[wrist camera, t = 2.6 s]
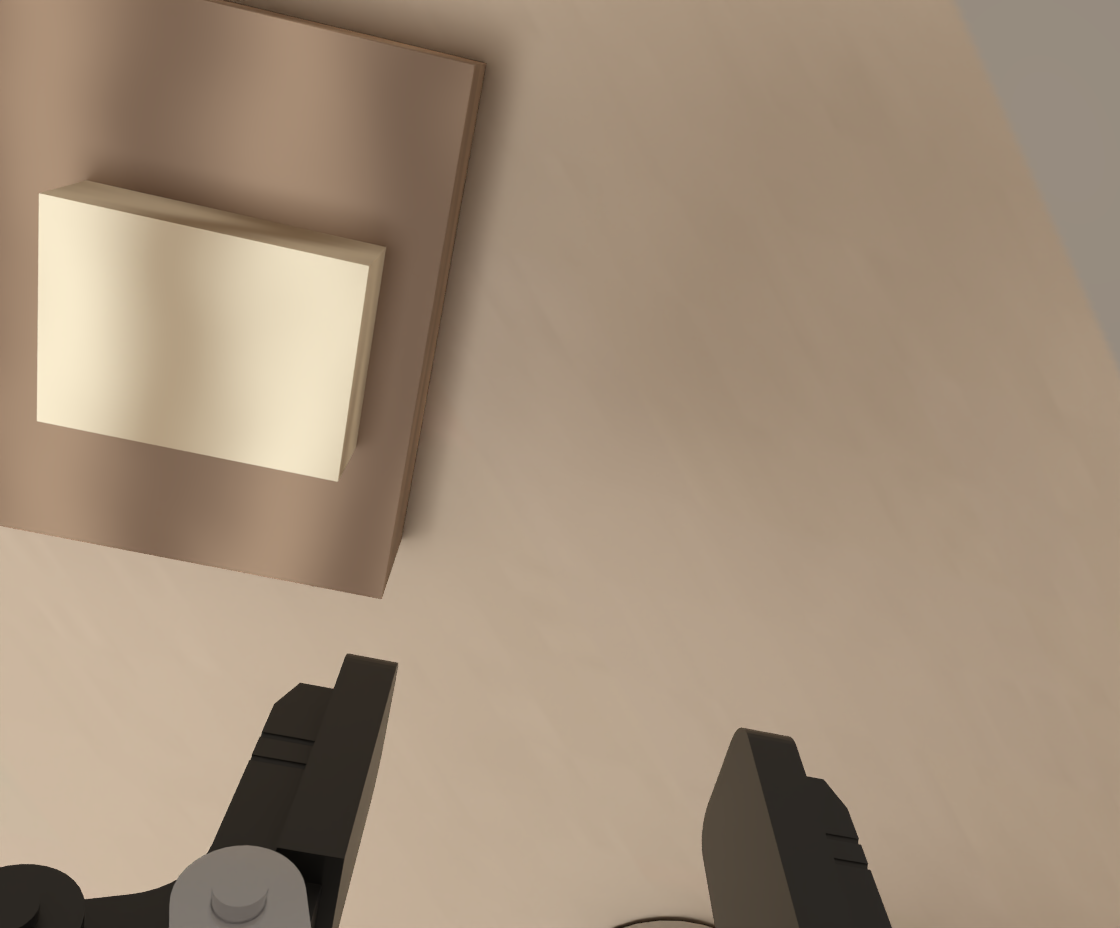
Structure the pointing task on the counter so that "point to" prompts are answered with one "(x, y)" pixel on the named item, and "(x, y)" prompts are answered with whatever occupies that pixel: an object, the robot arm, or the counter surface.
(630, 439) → the counter surface
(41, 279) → the ash tile
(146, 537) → the walnut step
